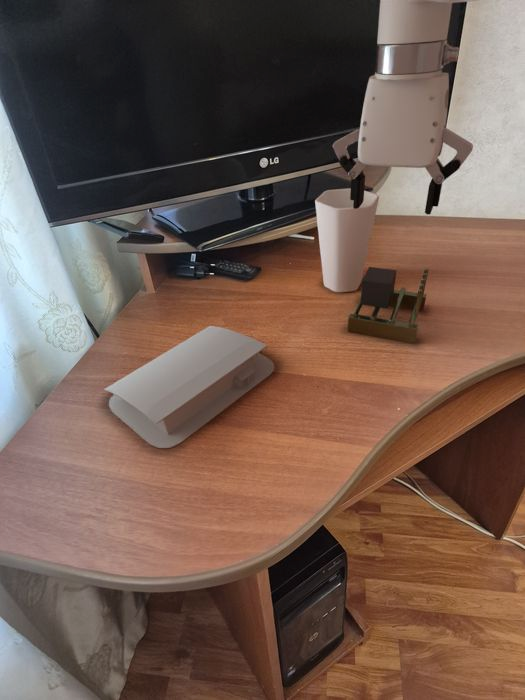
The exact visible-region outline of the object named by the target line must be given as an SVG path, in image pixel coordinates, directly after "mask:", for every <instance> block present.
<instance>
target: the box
mask: <svg viewBox="0 0 525 700" xmlns="http://www.w3.org/2000/svg"><path fill="white" fill-rule="evenodd" d="M396 279H397V269H390V268H381V267H373V266H369V267H368V268H367V270H366V272H365V274H364V276H363V277H362V280H361V289H360V298H361V303H360V304H361V305H362V306H367V307H368V306H369V307H373V308H375V307H380V309H389V308H390V307H389V305H390V302H391V299H392V297H393V294H394V290H395V286H396Z"/></svg>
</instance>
